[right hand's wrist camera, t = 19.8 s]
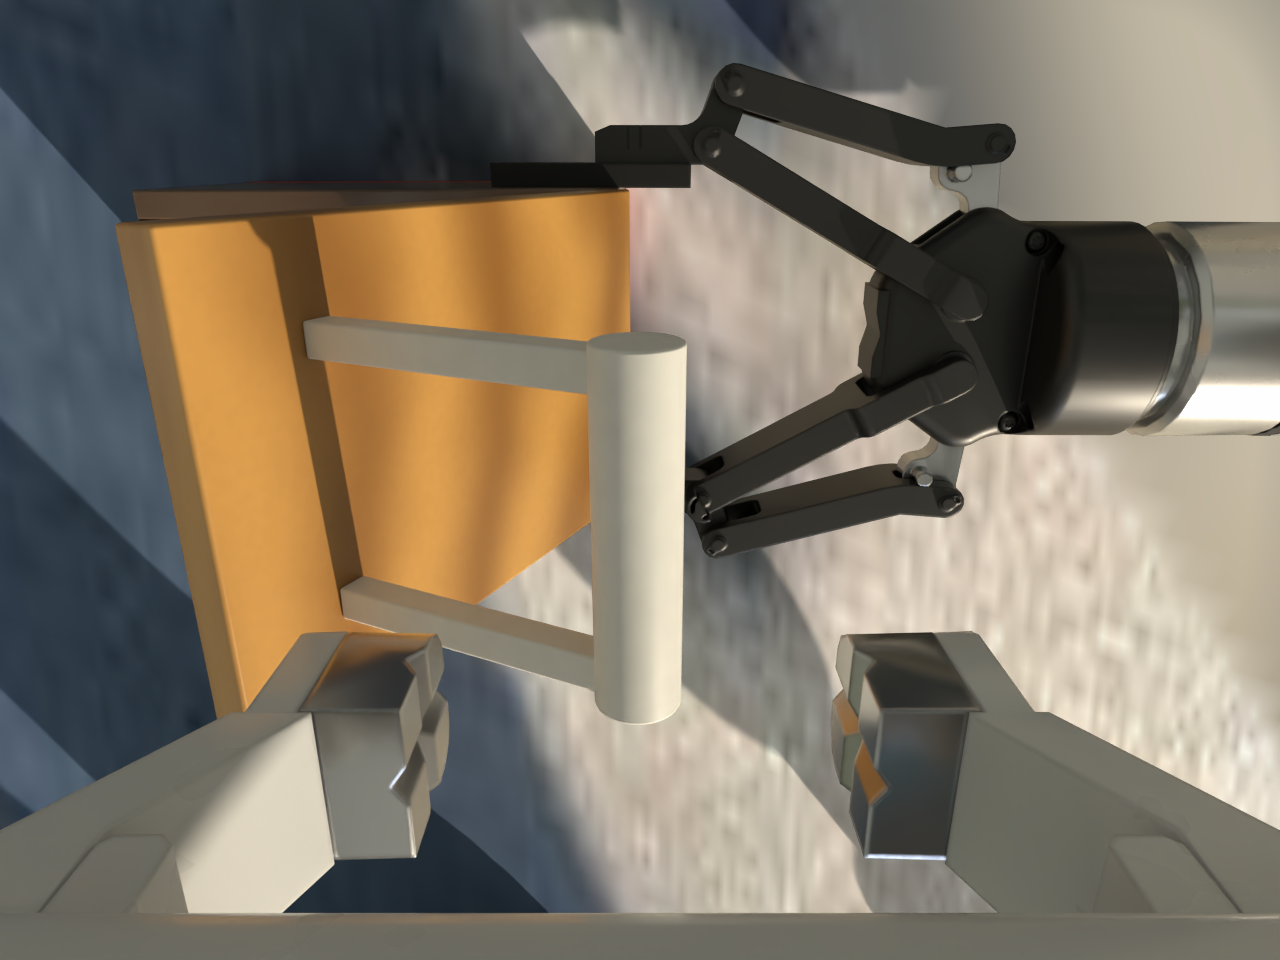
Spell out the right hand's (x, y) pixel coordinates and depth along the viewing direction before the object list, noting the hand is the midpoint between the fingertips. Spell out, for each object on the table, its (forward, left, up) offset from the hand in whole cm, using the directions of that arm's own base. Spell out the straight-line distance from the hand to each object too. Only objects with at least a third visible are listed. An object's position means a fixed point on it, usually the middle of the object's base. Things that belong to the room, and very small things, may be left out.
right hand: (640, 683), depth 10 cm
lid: (-3, -4, -12) cm, 13 cm away
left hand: (-3, -4, -23) cm, 23 cm away
